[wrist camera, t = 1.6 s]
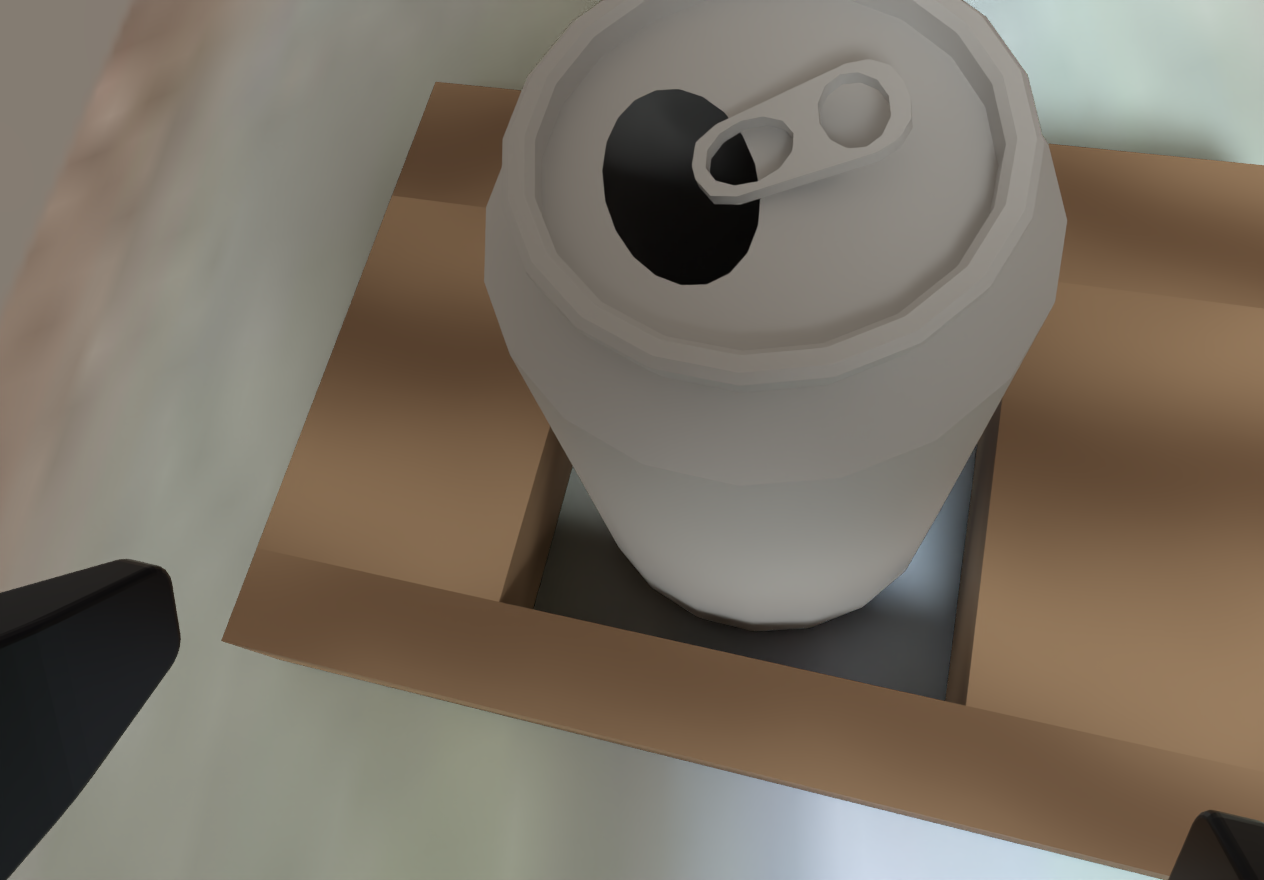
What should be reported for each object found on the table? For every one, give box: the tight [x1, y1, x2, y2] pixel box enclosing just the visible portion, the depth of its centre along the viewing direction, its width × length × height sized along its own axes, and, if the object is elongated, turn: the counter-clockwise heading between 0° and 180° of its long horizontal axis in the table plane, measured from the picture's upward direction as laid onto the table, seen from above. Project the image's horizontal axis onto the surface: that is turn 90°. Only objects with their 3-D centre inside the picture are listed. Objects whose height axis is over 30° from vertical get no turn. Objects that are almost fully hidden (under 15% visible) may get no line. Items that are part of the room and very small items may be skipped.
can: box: [484, 0, 1067, 631], centre depth 16 cm, size 8×8×12 cm
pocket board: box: [221, 82, 1264, 880], centre depth 21 cm, size 14×20×2 cm
